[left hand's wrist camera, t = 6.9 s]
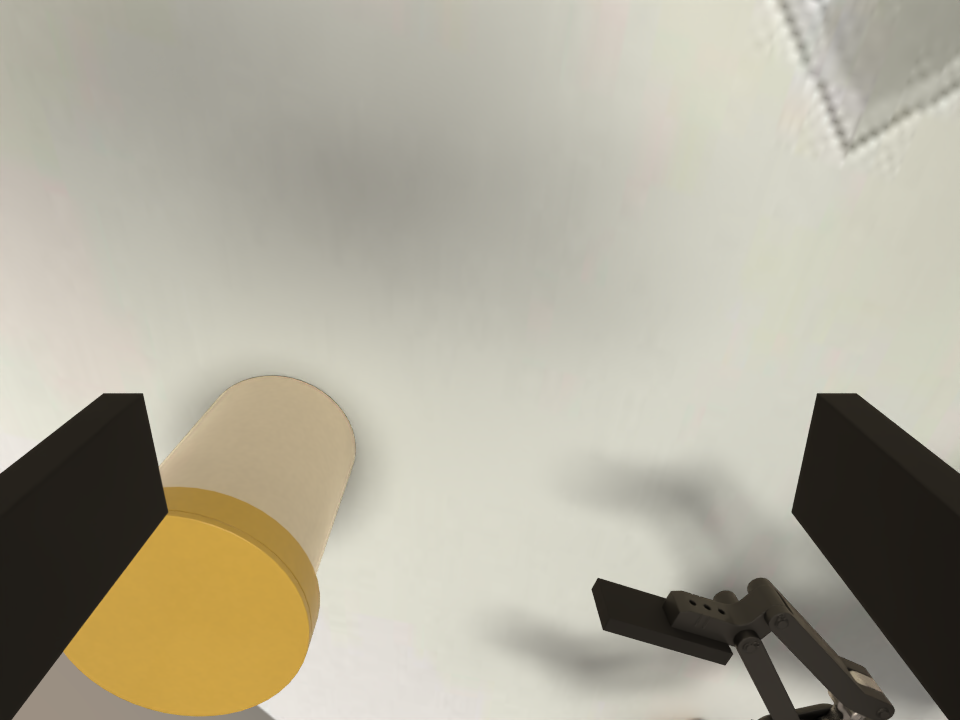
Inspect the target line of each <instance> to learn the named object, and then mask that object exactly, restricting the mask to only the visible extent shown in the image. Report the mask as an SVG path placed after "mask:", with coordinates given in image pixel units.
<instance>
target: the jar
mask: <svg viewBox="0 0 960 720" xmlns="http://www.w3.org/2000/svg"><path fill="white" fill-rule="evenodd" d="M355 451H356V446H355V438H354V434H353V430H352V428H351V425H350V423H349V421H348V419H347V417H346V416H345V414H344V412H343V411H342V410H341V409H340V407H339V406H338V405H337V404H336V403H335V402H334V401H333V400H332V399H331V398H330V397H329V396H327V395H326V394H325V393H324V392H322V391H321V390H319V389H317V388H316V387H314V386H312V385H310V384H307V383H305V382H303V381H300V380H296V379H293V378H288V377H282V376H261V377H255V378H251V379H247V380H244V381H242V382H239V383H237V384H235V385H233V386H232V387H230V388H229V389H227V390H226V391H225V392H223V393H222V394H221V395H220V396H219V397H218V398H217V400H216V401H215V402H214V403H213V404H212V405H211V407H210V408H209V409H208V410H207V411H206V412H205V414H204V415H203V416H202V417H201V418H200V419H199V420H198V422H197V423H196V424H195V425H194V426H193V427H192V429H191V430H190V431H189V432H188V433H187V434H186V436H185V437H184V438H183V439H182V440H181V441H180V442H179V444H178V445H177V446H176V447H175V448H174V449H173V451H172V452H171V453H170V454H169V455H168V456H167V458H166V459H165V460H164V461H163V462H162V463H161V465H160V466H159V471H160V475H161V480H162V484H163V487H192V488H200V489H206V490H211V491H216V492H219V493H223V494H226V495H229V496H232V497H235V498H237V499H240V500H242V501H244V502H247V503H249V504H251V505H252V506H254V507H256V508H258V509H260V510H262V511H263V512H265V513H266V514H268V515H269V516H270V517H272V518H273V519H275V520H276V521H277V522H279V523H280V524H281V525H282V526H283V527H284V528H285V529H287V530H288V531H289V532H290V534H291V535H292V536H293V537H294V538H295V539H296V540H297V541H298V542H299V544H300V545H301V547H302V548H303V550H304V551H305V553H306V554H307V556H308V558H309V560H310V562H311V564H312V566H313V568H314V571H315V574H317V571H318V568H319V565H320V562H321V559H322V556H323V553H324V550H325V547H326V544H327V541H328V538H329V535H330V532H331V529H332V526H333V523H334V521H335V518H336V515H337V512H338V509H339V506H340V503H341V500H342V497H343V494H344V491H345V488H346V485H347V482H348V479H349V476H350V473H351V470H352V467H353V464H354V460H355Z"/></svg>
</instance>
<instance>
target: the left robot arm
mask: <svg viewBox="0 0 960 720" xmlns="http://www.w3.org/2000/svg"><path fill="white" fill-rule="evenodd" d="M167 514H168V508H167V503H166V498H165V494H164V489H163V484H162V480H161V475H160V471H159V466H158V461H157V457H156V452H155V447H154V443H153V438H152V433H151V429H150V424H149V420H148V415H147V410H146V406H145V401H144V396H143V393H103V394H102V395H101V396H100V397H98V398H97V399H96V400H94V401H93V402H92V403H91V404H89V405H88V406H87V407H85V408H84V409H83V410H82V411H80V412H79V413H78V414H76V415H75V416H74V417H73V418H71V419H70V420H69V421H67V422H66V423H65V424H64V425H62V426H61V427H60V428H58V429H57V430H56V431H55V432H53V433H52V434H51V435H49V436H48V437H47V438H46V439H44V440H43V441H42V442H40V443H39V444H38V445H37V446H35V447H34V448H33V449H31V450H30V451H29V452H28V453H26V454H25V455H24V456H22V457H21V458H20V459H19V460H17V461H16V462H15V463H13V464H12V465H11V466H10V467H8V468H7V469H6V470H4V471H3V472H2V473H1V474H0V720H12V718H13V717H14V716H15V714H16V713H17V712H18V711H19V709H20V708H21V707H22V705H23V704H24V703H25V701H26V700H27V699H28V697H29V696H30V695H31V693H32V692H33V691H34V689H35V688H36V687H37V685H38V684H39V683H40V681H41V680H42V679H43V677H44V676H45V675H46V674H47V672H48V671H49V670H50V668H51V667H52V666H53V664H54V663H55V662H56V660H57V659H58V658H59V656H60V655H61V654H62V652H63V651H64V650H65V648H66V647H67V646H68V644H69V643H70V642H71V640H72V639H73V638H74V637H75V635H76V634H77V633H78V631H79V630H80V629H81V627H82V626H83V625H84V623H85V622H86V621H87V619H88V618H89V617H90V615H91V614H92V613H93V611H94V610H95V609H96V607H97V606H98V605H99V603H100V602H101V601H102V600H103V598H104V597H105V596H106V594H107V593H108V592H109V590H110V589H111V588H112V586H113V585H114V584H115V582H116V581H117V580H118V578H119V577H120V576H121V574H122V573H123V572H124V570H125V569H126V568H127V566H128V565H129V564H130V562H131V561H132V560H133V559H134V557H135V556H136V555H137V553H138V552H139V551H140V549H141V548H142V547H143V545H144V544H145V543H146V541H147V540H148V539H149V537H150V536H151V535H152V533H153V532H154V531H155V529H156V528H157V527H158V525H159V524H160V523H161V522H162V520H163V519H164V518H165V516H166V515H167ZM792 514H793V515H794V516H795V518H796V519H797V520H798V522H799V523H800V524H801V525H802V527H803V528H804V529H805V531H806V532H807V533H808V535H809V536H810V537H811V539H812V540H813V541H814V543H815V544H816V545H817V547H818V548H819V549H820V551H821V552H822V553H823V555H824V556H825V557H826V559H827V560H828V561H829V562H830V564H831V565H832V566H833V568H834V569H835V570H836V572H837V573H838V574H839V576H840V577H841V578H842V580H843V581H844V582H845V584H846V585H847V586H848V588H849V589H850V590H851V592H852V593H853V594H854V596H855V597H856V598H857V600H858V601H859V602H860V603H861V605H862V606H863V607H864V609H865V610H866V611H867V613H868V614H869V615H870V617H871V618H872V619H873V621H874V622H875V623H876V625H877V626H878V627H879V629H880V630H881V631H882V633H883V634H884V635H885V637H886V638H887V639H888V640H889V642H890V643H891V644H892V646H893V647H894V648H895V650H896V651H897V652H898V654H899V655H900V656H901V658H902V659H903V660H904V662H905V663H906V664H907V666H908V667H909V668H910V670H911V671H912V672H913V674H914V675H915V676H916V677H917V679H918V680H919V681H920V683H921V684H922V685H923V687H924V688H925V689H926V691H927V692H928V693H929V695H930V696H931V697H932V699H933V700H934V701H935V703H936V704H937V705H938V707H939V708H940V709H941V711H942V712H943V713H944V715H945V716H946V717H947V718H948V720H960V474H959V473H958V472H957V471H956V470H954V469H953V468H952V467H950V466H949V465H948V464H947V463H945V462H944V461H943V460H941V459H940V458H939V457H938V456H936V455H935V454H934V453H932V452H931V451H930V450H929V449H927V448H926V447H925V446H923V445H922V444H921V443H920V442H918V441H917V440H916V439H914V438H913V437H912V436H911V435H909V434H908V433H907V432H905V431H904V430H903V429H902V428H900V427H899V426H898V425H896V424H895V423H894V422H893V421H891V420H890V419H889V418H887V417H886V416H885V415H884V414H882V413H881V412H880V411H878V410H877V409H876V408H875V407H873V406H872V405H871V404H869V403H868V402H867V401H866V400H864V399H863V398H862V397H860V396H859V395H858V394H857V393H817V396H816V401H815V406H814V410H813V415H812V420H811V424H810V429H809V433H808V438H807V443H806V447H805V452H804V457H803V461H802V466H801V471H800V475H799V480H798V484H797V489H796V494H795V498H794V503H793V508H792Z"/></svg>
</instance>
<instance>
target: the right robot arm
mask: <svg viewBox="0 0 960 720" xmlns="http://www.w3.org/2000/svg"><path fill="white" fill-rule="evenodd" d="M747 591H748V593H749V594H748V595H746V596H745V597H744V598H743V599H741V600H740V601H738V599H737V597H736V596H735V594H734V593H733V592H731V591H721V592H719V593H717V594H716V595H715V597H714V599H713V600H710V599H707V598H704V597H699V596H697V595H694V594H693V595H692V594H691V593H687V592H684V591H671V592H670V594H669V595H668V597H667V598H663V597H659V596H656V595H653V594H649V593H646V592H643V591H639V590H636V589H633V588H630V587H626V586H623V585H620V584H616V583H613V582H610V581H607V580H603V579H600V578H598V579H597V580H596V582H595V584H594V586H593V588H592V593H593V596H594V600H595V603H596V607H597V610H598V614H599V618H600V621H601V625H602V628H603V630H605V631H608V632H612V633H615V634H619V635H622V636H625V637H629V638H632V639H636V640H639V641H643V642H646V643H650V644H653V645H657V646H660V647H663V648H667V649H670V650H674V651H677V652H681V653H684V654H688V655H691V656H695V657H698V658H701V659H705V660H708V661H712V662H715V663H719V664H722V665H726V664H727V662H728V661H729V659H730V658H731V656H732V655H733V653H732V651H731V649H730V647H729V645H731V646H734V647H736V649H737V651H738V653H739V655H740V657H741V659H742V661H743V662H744V664H745V666H746V668H747V670H748V672H749V674H750V676H751V678H752V680H753V682H754V684H755V686H756V688H757V690H758V692H759V694H760V696H761V698H762V700H763V701H764V703H765V705H766V707H767V709H768V711H769V713H770V715H766V716H764V717H762V718H760V719H758V720H888V719H889V718H891V717H892V716H893V714H894V712H895V709H894V707H893V706H892V704H891V703H890V701H889V700H888V699H887V697H886V696H885V695H884V693H883V692H882V691H881V689H880V688H879V686H878V685H877V684H876V682H875V681H874V680H873V678H872V677H871V675H870V674H869V673H868V671H867V670H866V668H864V667H863V666H861V665H858V664H856V663H854V662H852V661H849V660H847V659H845V658H842V657H840V656H838V655H837V654H836V653H835V651H834V650H833V649H832V648H831V647H830V646H829V645H828V644H827V643H826V642H825V641H824V640H823V638H822V637H821V636H820V635H819V634H818V633H817V632H816V631H815V630H814V629H813V628H812V627H811V626H810V624H809V623H808V622H807V621H806V620H805V619H804V618H803V617H802V616H801V615H800V614H799V613H798V611H797V610H796V609H795V608H794V607H793V606H792V605H791V604H790V603H789V602H788V601H787V600H786V598H785V597H784V596H783V595H782V594H781V593H780V592H779V591H778V590H777V589H776V588H775V587H774V585H773V584H772V583H771V582H770V581H769V580H767V579H766V578H756V579H754V580H752V581H751V582H750V583H749V585H748V587H747ZM771 631H772V632H773V633H774V634H775V635H776V636H777V637H778V638H779V639H780V640H781V641H782V642H783V643H784V644H785V645H786V646H787V647H788V648H789V650H790V651H791V652H792V653H793V654H794V655H795V656H796V657H797V658H798V659H799V660H800V661H801V662H802V663H803V664H804V665H805V666H806V667H807V668H808V669H809V670H810V671H811V672H812V674H813V675H814V676H815V677H816V678H817V679H818V680H819V681H820V682H821V683H822V684H823V685H824V686H825V687H826V688H827V689H828V694H829V696H830V697H831V699H832V700H833V702H834V705H831V704H817V705H812V706H807V707H803V708H798V709H795V708H794V706H793V704H792V702H791V700H790V698H789V696H788V694H787V692H786V690H785V688H784V686H783V684H782V682H781V680H780V678H779V676H778V674H777V672H776V670H775V668H774V666H773V664H772V661H771V659H770V657H769V655H768V653H767V651H766V649H765V647H764V645H763V643H762V641H761V639H762V638H763V637H765V636H766V635H767V634H769V633H770V632H771ZM751 720H752V719H751Z"/></svg>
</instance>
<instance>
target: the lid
mask: <svg viewBox="0 0 960 720" xmlns="http://www.w3.org/2000/svg"><path fill="white" fill-rule="evenodd" d="M163 489H164V494H165V498H166V503H167V508H168V514H167V515H166V516H165V518H164V519H163V520H162V522H161V523H160V524H159V525H158V527H157V528H156V529H155V531H154V532H153V533H152V535H151V536H150V537H149V539H148V540H147V541H146V543H145V544H144V545H143V547H142V548H141V549H140V551H139V552H138V553H137V555H136V556H135V557H134V559H133V560H132V561H131V562H130V564H129V565H128V566H127V568H126V569H125V570H124V572H123V573H122V574H121V576H120V577H119V578H118V580H117V581H116V582H115V584H114V585H113V586H112V588H111V589H110V590H109V592H108V593H107V594H106V596H105V597H104V598H103V600H102V601H101V602H100V603H99V605H98V606H97V607H96V609H95V610H94V611H93V613H92V614H91V615H90V617H89V618H88V619H87V621H86V622H85V623H84V625H83V626H82V627H81V629H80V630H79V631H78V633H77V634H76V635H75V637H74V638H73V639H72V640H71V642H70V643H69V644H68V646H67V647H66V648H65V650H64V651H63V652H64V653H65V654H66V656H67V657H68V659H69V660H70V661H71V662H72V663H73V664H74V665H75V666H76V667H77V668H78V669H79V670H80V671H81V672H82V673H83V674H85V675H86V676H87V677H88V678H89V679H90V680H92V681H93V682H95V683H96V684H98V685H99V686H100V687H102V688H103V689H105V690H107V691H109V692H110V693H112V694H114V695H116V696H117V697H119V698H122V699H124V700H126V701H129V702H131V703H133V704H136V705H139V706H142V707H145V708H147V709H151V710H155V711H160V712H163V713H169V714H175V715H183V716H216V715H223V714H230V713H234V712H238V711H242V710H245V709H248V708H251V707H253V706H256V705H258V704H260V703H262V702H264V701H266V700H268V699H270V698H271V697H273V696H274V695H276V694H277V693H279V692H280V691H281V690H282V689H283V688H284V687H285V686H287V685H288V684H289V683H290V681H291V680H292V679H293V678H294V677H295V675H296V674H297V673H298V671H299V669H300V667H301V666H302V664H303V662H304V659H305V656H306V654H307V651H308V648H309V644H310V641H311V638H312V635H313V631H314V628H315V625H316V622H317V618H318V613H319V607H320V592H319V586H318V580H317V577H316V574H315V571H314V568H313V566H312V564H311V562H310V560H309V558H308V556H307V554H306V553H305V551H304V550H303V548H302V547H301V545H300V544H299V542H298V541H297V540H296V539H295V538H294V537H293V536H292V535H291V534H290V532H289V531H288V530H287V529H285V528H284V527H283V526H282V525H281V524H280V523H279V522H277V521H276V520H275V519H273V518H272V517H270V516H269V515H268V514H266V513H265V512H263V511H262V510H260V509H258V508H256V507H254V506H252V505H251V504H249V503H247V502H244V501H242V500H240V499H237V498H235V497H232V496H229V495H226V494H223V493H219V492H216V491H211V490H206V489H200V488H192V487H163Z"/></svg>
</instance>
